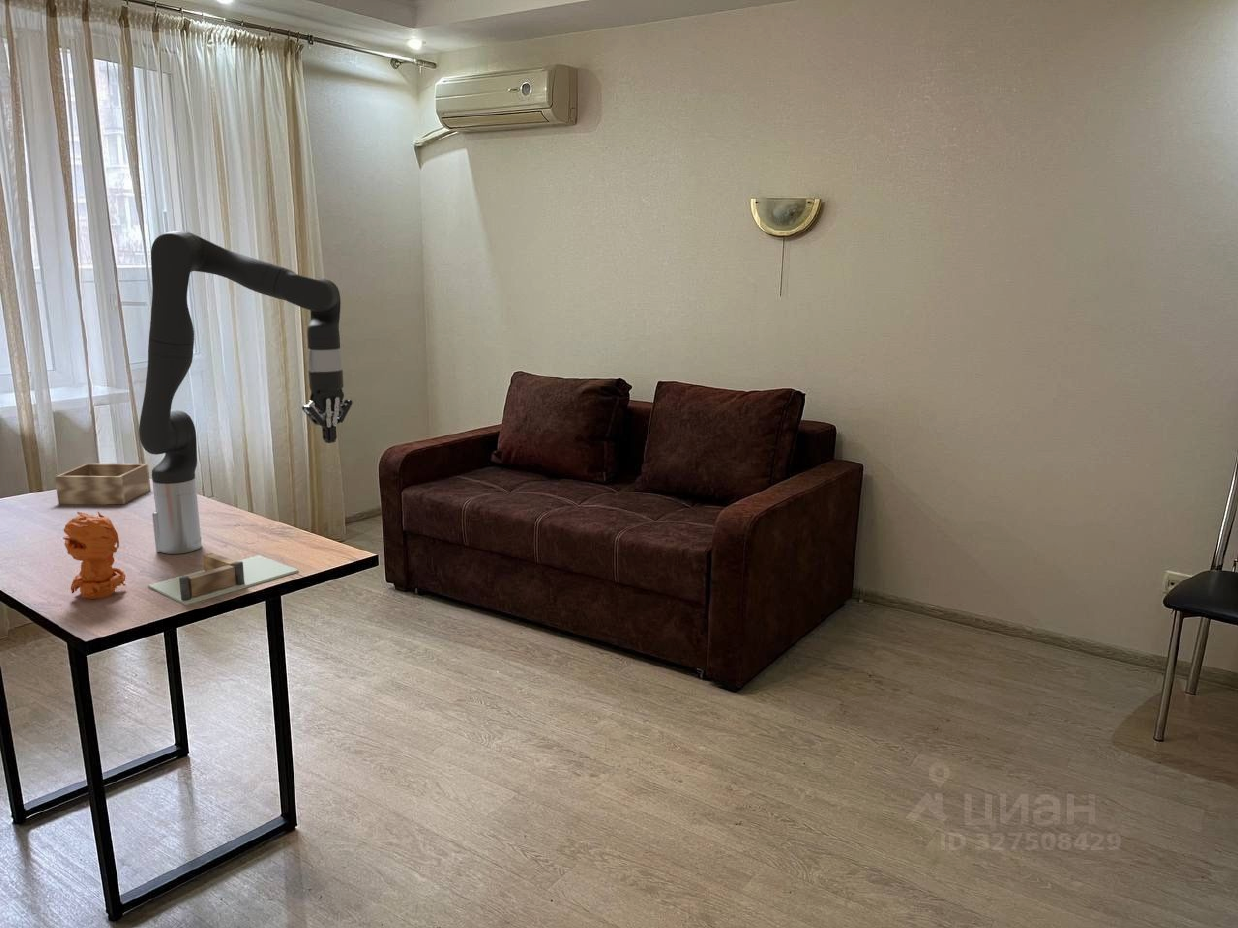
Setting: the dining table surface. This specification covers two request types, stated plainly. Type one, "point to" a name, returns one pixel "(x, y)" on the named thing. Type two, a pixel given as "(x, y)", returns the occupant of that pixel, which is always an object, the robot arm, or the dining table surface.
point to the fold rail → (216, 561)
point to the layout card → (254, 573)
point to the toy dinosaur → (93, 555)
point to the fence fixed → (211, 580)
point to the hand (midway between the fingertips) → (330, 442)
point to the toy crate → (102, 483)
